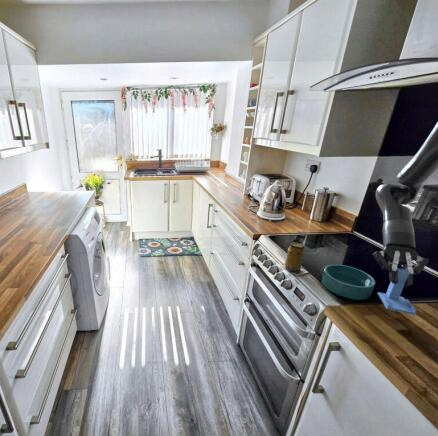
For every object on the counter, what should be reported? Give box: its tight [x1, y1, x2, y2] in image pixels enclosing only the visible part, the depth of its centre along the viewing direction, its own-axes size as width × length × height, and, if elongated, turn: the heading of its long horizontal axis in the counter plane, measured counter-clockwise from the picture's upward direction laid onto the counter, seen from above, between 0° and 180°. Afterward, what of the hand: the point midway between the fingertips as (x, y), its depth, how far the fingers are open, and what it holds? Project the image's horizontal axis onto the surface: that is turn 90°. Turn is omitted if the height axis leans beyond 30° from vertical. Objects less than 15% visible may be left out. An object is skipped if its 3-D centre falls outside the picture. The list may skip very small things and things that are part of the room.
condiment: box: [280, 241, 309, 276], centre depth 105 cm, size 7×8×12 cm
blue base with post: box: [377, 267, 417, 316], centre depth 76 cm, size 8×7×11 cm
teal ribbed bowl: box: [321, 263, 376, 301], centre depth 93 cm, size 15×15×6 cm
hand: (401, 284), depth 76 cm, fingers closed on blue base with post, 2 cm apart
